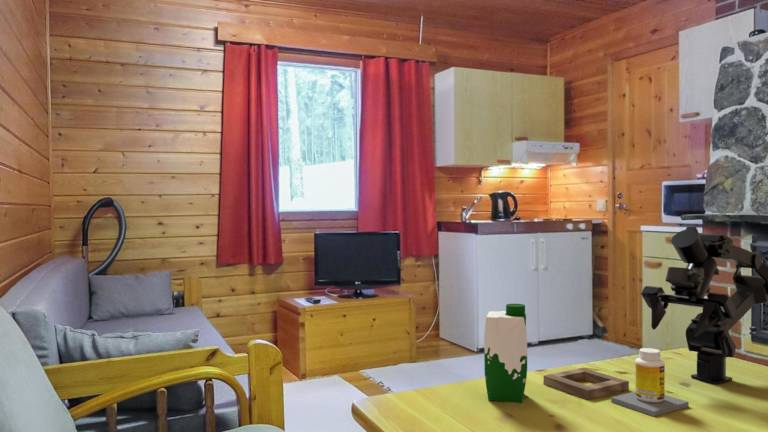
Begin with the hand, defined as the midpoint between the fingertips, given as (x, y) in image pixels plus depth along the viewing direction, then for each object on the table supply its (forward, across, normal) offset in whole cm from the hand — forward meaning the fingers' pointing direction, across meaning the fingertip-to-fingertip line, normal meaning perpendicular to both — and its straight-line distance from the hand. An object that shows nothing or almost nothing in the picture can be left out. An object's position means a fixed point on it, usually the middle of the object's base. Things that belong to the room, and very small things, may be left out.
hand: (673, 331), depth 128 cm
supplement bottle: (+16, 0, +2) cm, 17 cm away
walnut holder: (+17, -15, +2) cm, 23 cm away
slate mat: (+17, 0, +2) cm, 17 cm away
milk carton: (+31, -22, -11) cm, 39 cm away
